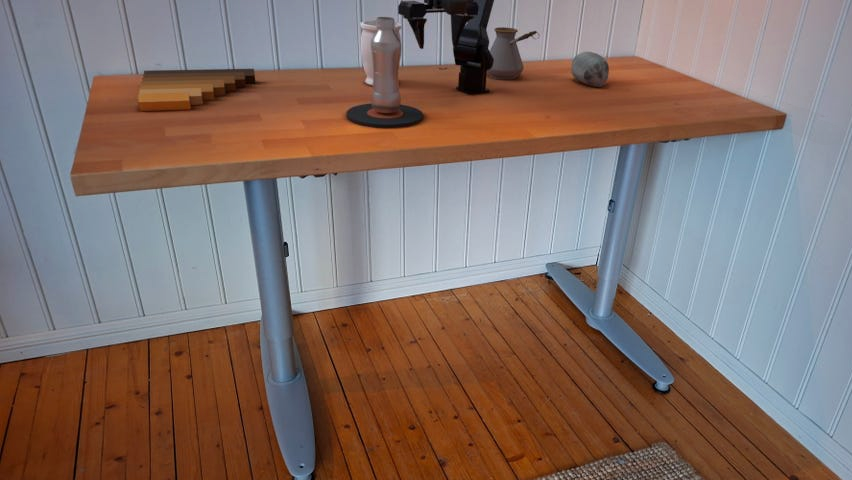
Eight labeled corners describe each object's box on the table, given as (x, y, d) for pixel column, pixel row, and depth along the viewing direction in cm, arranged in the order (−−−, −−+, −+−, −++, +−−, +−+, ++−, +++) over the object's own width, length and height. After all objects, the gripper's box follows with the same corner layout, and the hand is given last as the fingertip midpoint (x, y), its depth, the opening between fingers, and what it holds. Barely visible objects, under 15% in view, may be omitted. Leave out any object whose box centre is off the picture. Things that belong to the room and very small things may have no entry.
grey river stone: (620, 77, 186) (606, 43, 183) (589, 93, 186) (575, 59, 183) (603, 78, 199) (590, 46, 196) (575, 93, 199) (561, 61, 196)
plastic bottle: (381, 106, 156) (380, 14, 146) (406, 111, 153) (407, 18, 144) (365, 113, 150) (363, 17, 141) (390, 118, 148) (390, 22, 138)
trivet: (398, 103, 163) (398, 99, 162) (437, 122, 151) (437, 118, 150) (333, 111, 153) (333, 107, 153) (369, 132, 142) (369, 127, 141)
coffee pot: (475, 72, 195) (478, 18, 188) (509, 70, 200) (514, 17, 193) (512, 91, 179) (517, 32, 172) (549, 88, 184) (555, 30, 177)
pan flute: (254, 80, 173) (146, 83, 165) (253, 67, 171) (144, 68, 163) (262, 107, 153) (140, 111, 144) (261, 92, 151) (137, 96, 143)
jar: (394, 90, 173) (394, 28, 166) (355, 85, 175) (353, 24, 167) (406, 80, 182) (406, 22, 175) (369, 76, 184) (368, 18, 177)
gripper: (424, -21, 141) (422, 57, 148) (495, -21, 151) (490, 51, 158) (396, -27, 148) (396, 47, 156) (466, -27, 158) (463, 42, 166)
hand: (438, 47), depth 159 cm, fingers open, 9 cm apart
